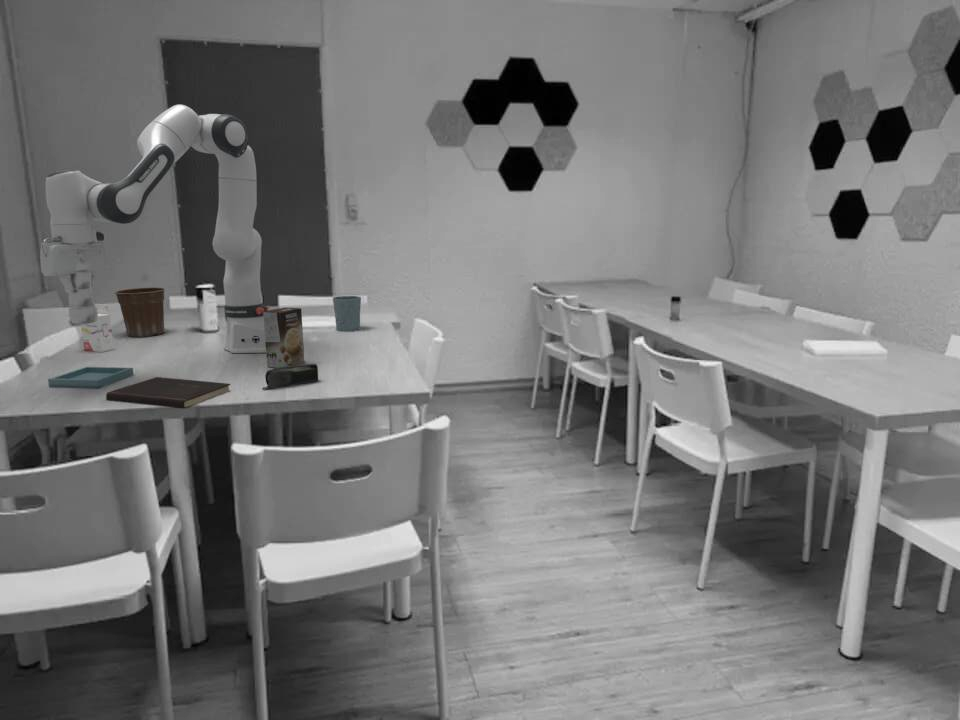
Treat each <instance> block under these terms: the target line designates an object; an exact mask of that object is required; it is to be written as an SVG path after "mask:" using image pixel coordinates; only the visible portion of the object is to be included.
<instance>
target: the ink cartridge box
mask: <svg viewBox="0 0 960 720" xmlns="http://www.w3.org/2000/svg"><path fill="white" fill-rule="evenodd" d="M95 306H96V309H97V312H98V317H97V320H96V322H93V323H90V324H85V325H82V324H80V327H81V334H82V342H83V349H84V351H90V352H97V353H104V352H108V351H113V350H115V344H114V343H115V342H114V338H113V337H114V335H113V328H112V321H111V314H110V311H109V306H108V305H107V304H102V303H101V304H100V303H95ZM99 308H100V309H99Z"/></svg>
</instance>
